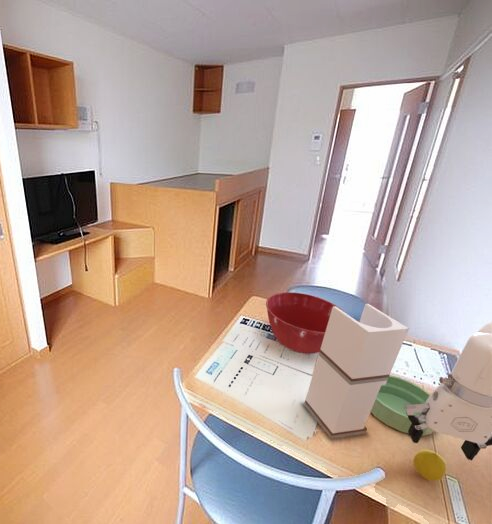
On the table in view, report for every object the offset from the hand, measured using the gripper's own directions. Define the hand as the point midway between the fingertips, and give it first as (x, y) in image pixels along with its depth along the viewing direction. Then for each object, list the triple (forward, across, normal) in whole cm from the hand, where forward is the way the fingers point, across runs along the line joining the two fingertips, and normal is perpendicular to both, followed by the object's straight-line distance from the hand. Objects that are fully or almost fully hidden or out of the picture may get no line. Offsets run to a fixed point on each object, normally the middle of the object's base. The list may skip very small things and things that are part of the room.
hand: (438, 445), depth 70 cm
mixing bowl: (+11, -26, +45) cm, 53 cm away
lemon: (+11, 0, 0) cm, 11 cm away
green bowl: (+11, 0, +21) cm, 24 cm away
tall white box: (+11, -18, +10) cm, 23 cm away
